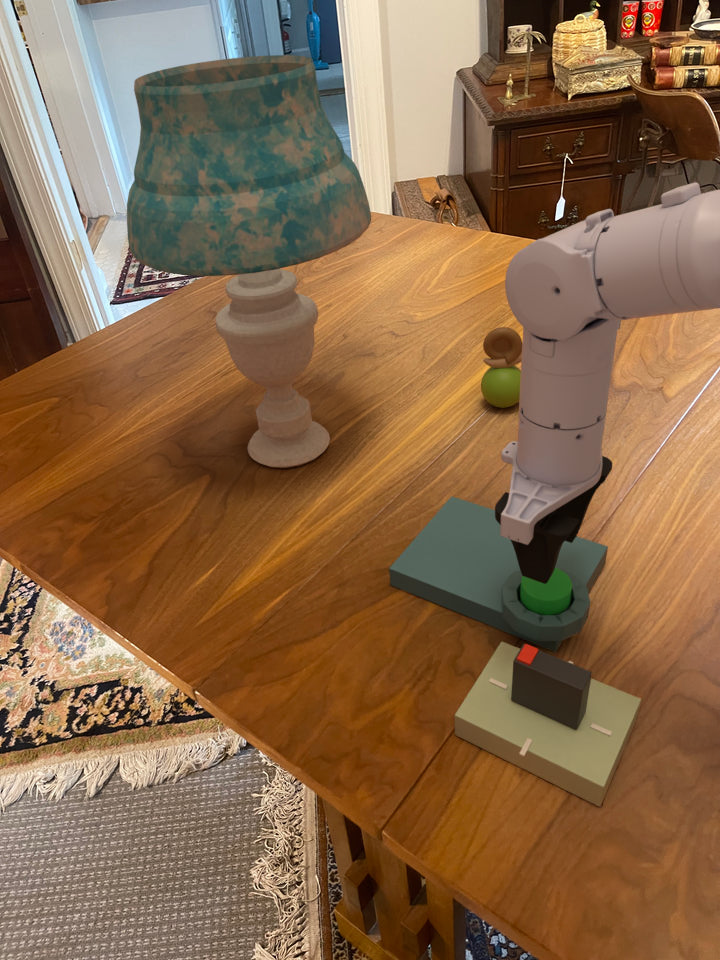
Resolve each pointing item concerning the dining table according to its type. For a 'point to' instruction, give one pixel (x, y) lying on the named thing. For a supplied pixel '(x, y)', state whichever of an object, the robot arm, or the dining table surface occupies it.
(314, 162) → the table lamp
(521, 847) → the dining table surface
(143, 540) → the dining table surface
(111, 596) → the dining table surface
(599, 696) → the dimmer panel
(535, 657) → the dimmer knob
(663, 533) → the dining table surface
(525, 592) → the light button
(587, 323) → the robot arm
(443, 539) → the switch box
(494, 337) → the snail figurine
